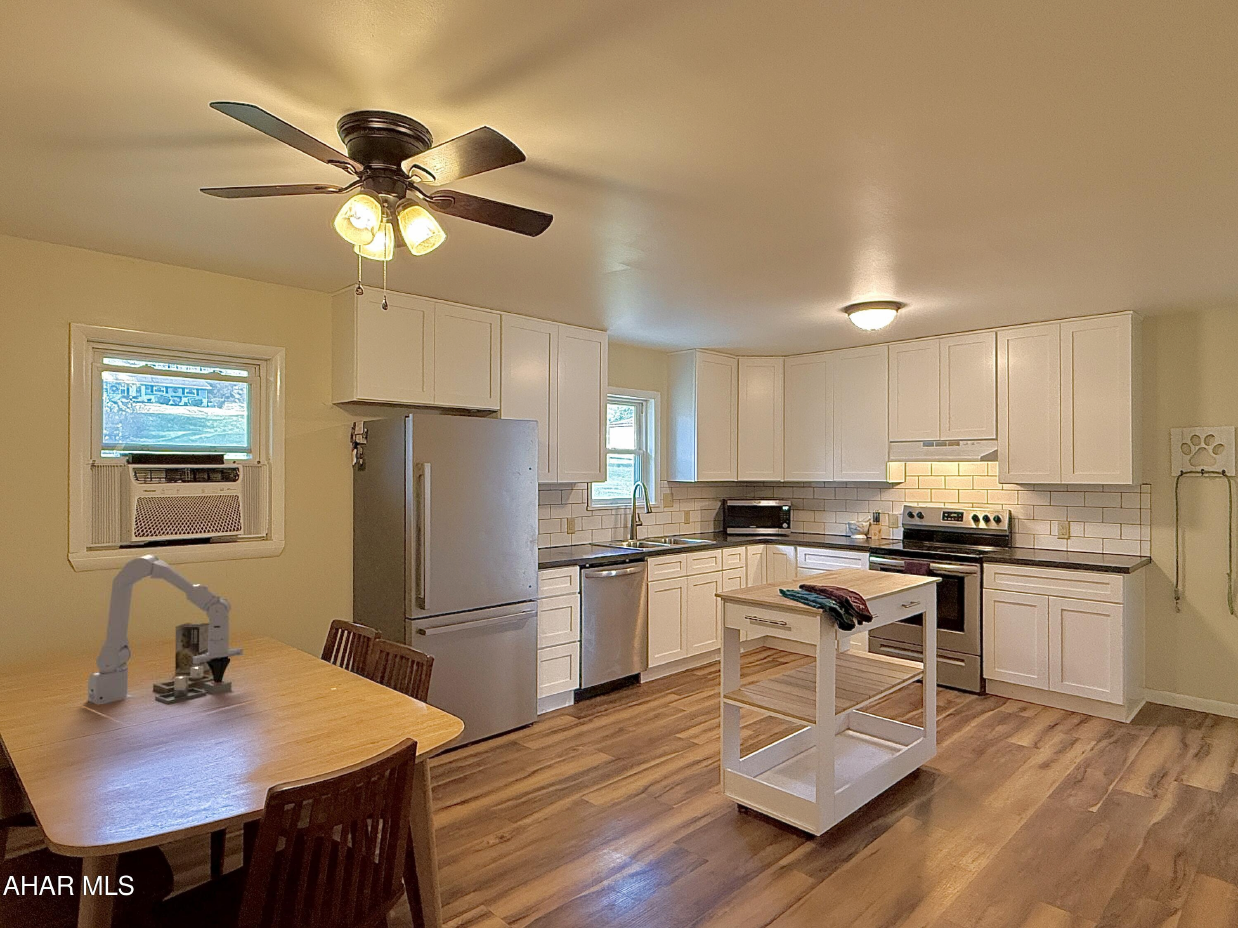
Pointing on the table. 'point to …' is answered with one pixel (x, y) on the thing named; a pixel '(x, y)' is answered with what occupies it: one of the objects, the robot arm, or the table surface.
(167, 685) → the pallet
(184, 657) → the coffee box
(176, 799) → the table surface
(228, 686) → the button housing
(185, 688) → the block
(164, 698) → the shallow grey tray
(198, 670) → the billet
